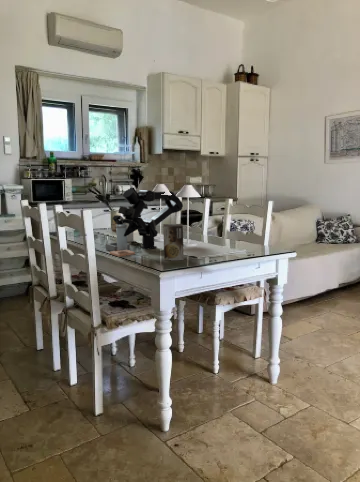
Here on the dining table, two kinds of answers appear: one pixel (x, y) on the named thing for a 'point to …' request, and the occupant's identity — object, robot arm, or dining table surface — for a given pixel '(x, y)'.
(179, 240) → the coffee box
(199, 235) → the dining table surface
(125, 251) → the dock
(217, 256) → the dining table surface
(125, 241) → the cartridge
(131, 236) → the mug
